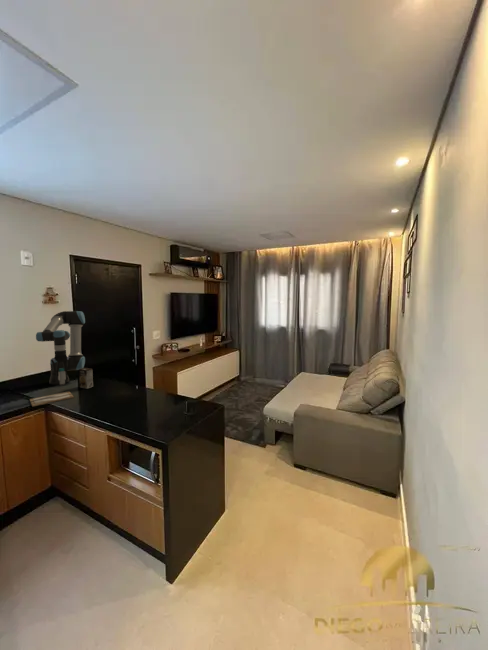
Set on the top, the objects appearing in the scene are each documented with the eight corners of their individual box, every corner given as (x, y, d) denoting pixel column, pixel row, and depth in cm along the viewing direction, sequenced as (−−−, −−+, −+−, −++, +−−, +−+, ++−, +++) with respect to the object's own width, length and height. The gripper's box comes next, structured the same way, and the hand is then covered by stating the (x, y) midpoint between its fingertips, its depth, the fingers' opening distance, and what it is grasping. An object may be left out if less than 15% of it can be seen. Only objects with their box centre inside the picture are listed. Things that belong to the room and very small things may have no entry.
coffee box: (79, 387, 245) (78, 369, 243) (86, 385, 251) (85, 367, 249) (87, 388, 241) (86, 370, 239) (93, 386, 247) (92, 368, 245)
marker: (59, 384, 225) (58, 368, 223) (64, 383, 227) (63, 367, 226) (60, 385, 222) (59, 369, 221) (65, 384, 224) (64, 368, 223)
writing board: (29, 400, 215) (29, 398, 215) (69, 392, 232) (69, 391, 232) (32, 406, 203) (32, 405, 203) (73, 398, 220) (73, 396, 220)
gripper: (48, 352, 214) (50, 382, 216) (73, 349, 224) (74, 378, 227) (47, 350, 219) (49, 380, 222) (71, 348, 230) (72, 376, 232)
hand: (62, 379), depth 224 cm, fingers closed on marker, 3 cm apart
